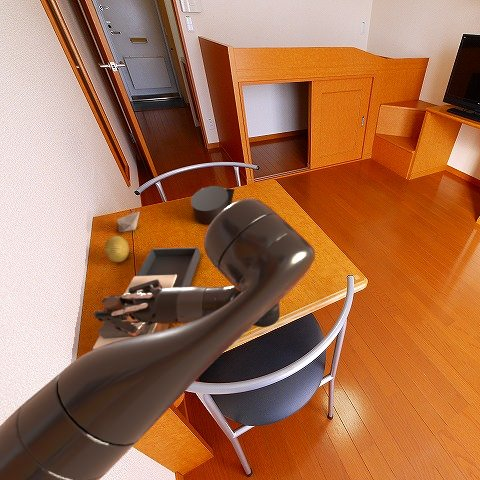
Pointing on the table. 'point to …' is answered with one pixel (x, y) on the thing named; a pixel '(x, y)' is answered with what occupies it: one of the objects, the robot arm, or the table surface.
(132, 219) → the paper boat
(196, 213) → the dark grey round pot
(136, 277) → the beige flat block
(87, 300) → the table surface
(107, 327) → the stamp with brown handle
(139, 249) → the table surface
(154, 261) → the bin
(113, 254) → the sculpture
